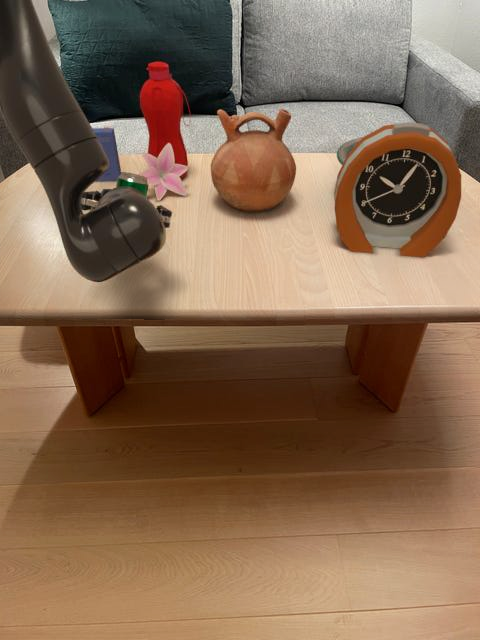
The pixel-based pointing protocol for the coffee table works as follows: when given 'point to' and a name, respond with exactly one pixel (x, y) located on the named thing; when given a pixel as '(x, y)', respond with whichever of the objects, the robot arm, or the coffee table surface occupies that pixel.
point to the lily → (164, 172)
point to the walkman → (109, 153)
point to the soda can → (133, 182)
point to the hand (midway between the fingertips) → (129, 203)
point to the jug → (253, 163)
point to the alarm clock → (398, 191)
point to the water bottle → (163, 112)
